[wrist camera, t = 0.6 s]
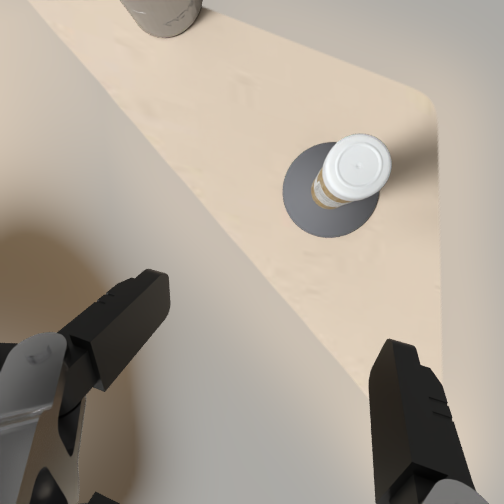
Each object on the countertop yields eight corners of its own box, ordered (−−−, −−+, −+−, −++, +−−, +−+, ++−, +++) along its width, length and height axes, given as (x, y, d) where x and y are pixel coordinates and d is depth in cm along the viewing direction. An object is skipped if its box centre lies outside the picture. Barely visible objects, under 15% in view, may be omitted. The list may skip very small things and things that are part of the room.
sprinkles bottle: (335, 162, 32) (369, 117, 19) (358, 195, 32) (407, 172, 19) (302, 186, 33) (312, 158, 20) (324, 218, 33) (349, 212, 20)
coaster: (264, 180, 34) (264, 179, 33) (343, 122, 32) (344, 122, 32) (316, 255, 34) (316, 255, 33) (397, 202, 32) (398, 202, 32)
